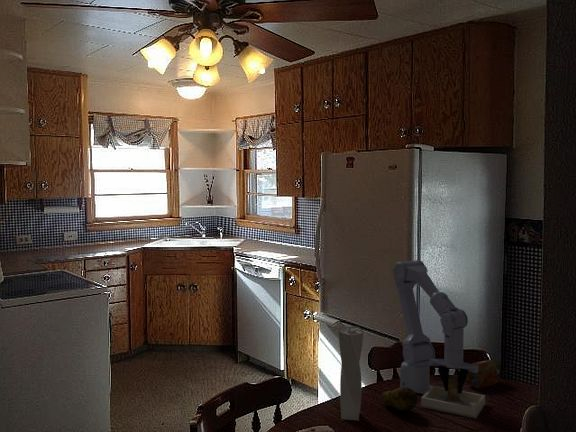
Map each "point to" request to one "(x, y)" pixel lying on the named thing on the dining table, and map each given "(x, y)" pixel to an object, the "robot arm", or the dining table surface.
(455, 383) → the peg
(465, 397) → the box
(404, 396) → the potato
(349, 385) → the tall white vase
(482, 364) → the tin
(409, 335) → the robot arm
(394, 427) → the dining table surface
